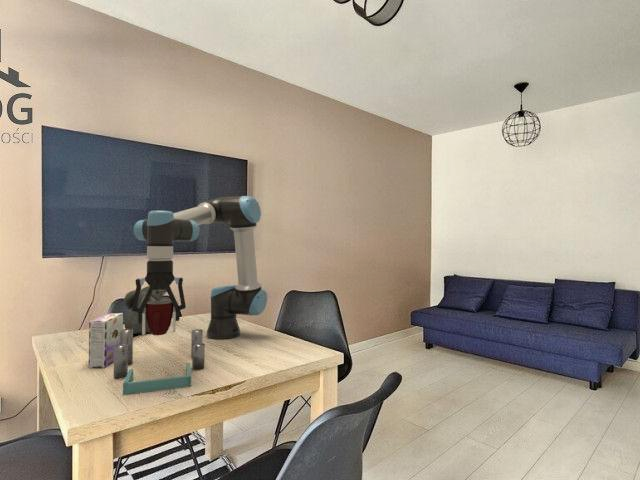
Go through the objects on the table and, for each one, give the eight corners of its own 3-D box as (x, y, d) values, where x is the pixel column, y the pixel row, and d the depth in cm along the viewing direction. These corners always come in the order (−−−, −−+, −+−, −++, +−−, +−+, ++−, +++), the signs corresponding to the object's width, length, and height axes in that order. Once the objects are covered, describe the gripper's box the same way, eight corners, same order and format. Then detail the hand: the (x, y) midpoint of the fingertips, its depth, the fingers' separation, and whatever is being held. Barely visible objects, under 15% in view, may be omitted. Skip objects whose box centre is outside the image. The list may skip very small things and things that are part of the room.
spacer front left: (204, 365, 129) (204, 342, 129) (204, 368, 125) (204, 345, 125) (192, 366, 128) (192, 343, 128) (192, 370, 124) (192, 346, 124)
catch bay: (190, 371, 123) (190, 362, 123) (191, 386, 110) (191, 376, 110) (129, 378, 116) (129, 369, 116) (122, 394, 104) (123, 384, 104)
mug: (173, 337, 110) (174, 304, 110) (144, 340, 107) (144, 306, 107) (172, 330, 120) (173, 299, 120) (145, 332, 117) (146, 301, 117)
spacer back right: (133, 361, 133) (133, 328, 133) (131, 364, 129) (132, 331, 129) (120, 362, 131) (121, 329, 131) (119, 366, 127) (119, 332, 127)
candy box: (107, 355, 139) (108, 312, 139) (123, 355, 139) (124, 312, 139) (87, 368, 125) (88, 320, 125) (105, 368, 125) (106, 320, 126)
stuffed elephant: (171, 325, 189) (171, 273, 189) (159, 336, 168) (160, 277, 168) (131, 326, 186) (132, 274, 186) (115, 337, 165) (116, 278, 165)
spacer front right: (128, 373, 120) (128, 343, 120) (126, 377, 117) (127, 346, 117) (114, 374, 119) (115, 344, 119) (112, 379, 115) (112, 347, 115)
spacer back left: (202, 354, 141) (202, 328, 141) (202, 357, 137) (202, 331, 137) (191, 355, 140) (191, 329, 140) (191, 358, 136) (191, 332, 136)
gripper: (194, 259, 121) (194, 327, 121) (124, 259, 114) (123, 332, 113) (195, 260, 114) (194, 332, 114) (120, 260, 107) (119, 338, 106)
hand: (159, 332), depth 114 cm, fingers closed on mug, 8 cm apart
